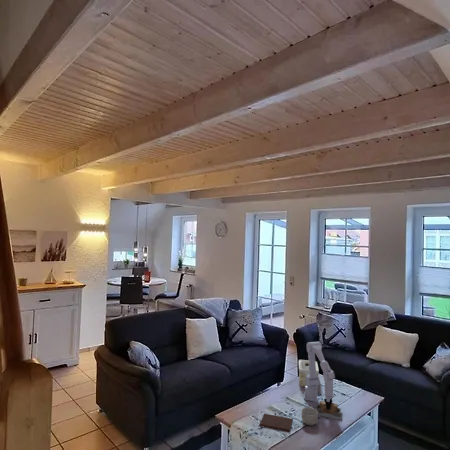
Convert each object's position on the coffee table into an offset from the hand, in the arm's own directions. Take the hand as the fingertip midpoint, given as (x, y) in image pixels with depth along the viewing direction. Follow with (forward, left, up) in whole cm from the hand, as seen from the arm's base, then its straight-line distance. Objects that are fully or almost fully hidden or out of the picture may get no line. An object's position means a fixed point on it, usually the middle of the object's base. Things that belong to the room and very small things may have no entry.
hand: (328, 407), depth 246 cm
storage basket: (-20, +48, -5) cm, 52 cm away
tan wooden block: (0, 0, -3) cm, 3 cm away
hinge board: (0, 0, -4) cm, 4 cm away
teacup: (-11, -16, -4) cm, 20 cm away
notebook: (-32, -26, -5) cm, 42 cm away
